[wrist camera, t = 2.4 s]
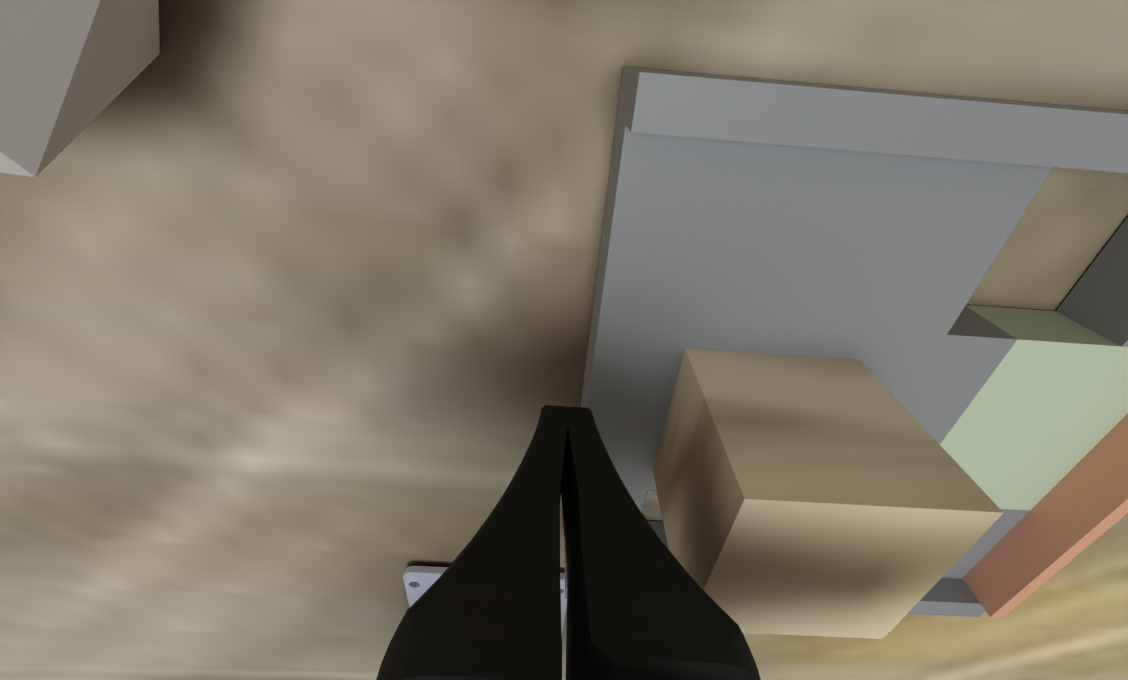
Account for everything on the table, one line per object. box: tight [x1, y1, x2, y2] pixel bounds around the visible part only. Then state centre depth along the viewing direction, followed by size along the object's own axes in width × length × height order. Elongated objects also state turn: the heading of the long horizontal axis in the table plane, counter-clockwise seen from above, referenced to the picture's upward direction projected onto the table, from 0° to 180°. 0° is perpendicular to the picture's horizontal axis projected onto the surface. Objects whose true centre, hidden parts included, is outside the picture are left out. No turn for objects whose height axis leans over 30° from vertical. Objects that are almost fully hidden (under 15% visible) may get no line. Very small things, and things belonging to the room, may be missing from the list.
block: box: [653, 349, 1004, 639], centre depth 12 cm, size 5×5×5 cm
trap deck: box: [565, 67, 1128, 618], centre depth 14 cm, size 18×17×4 cm
